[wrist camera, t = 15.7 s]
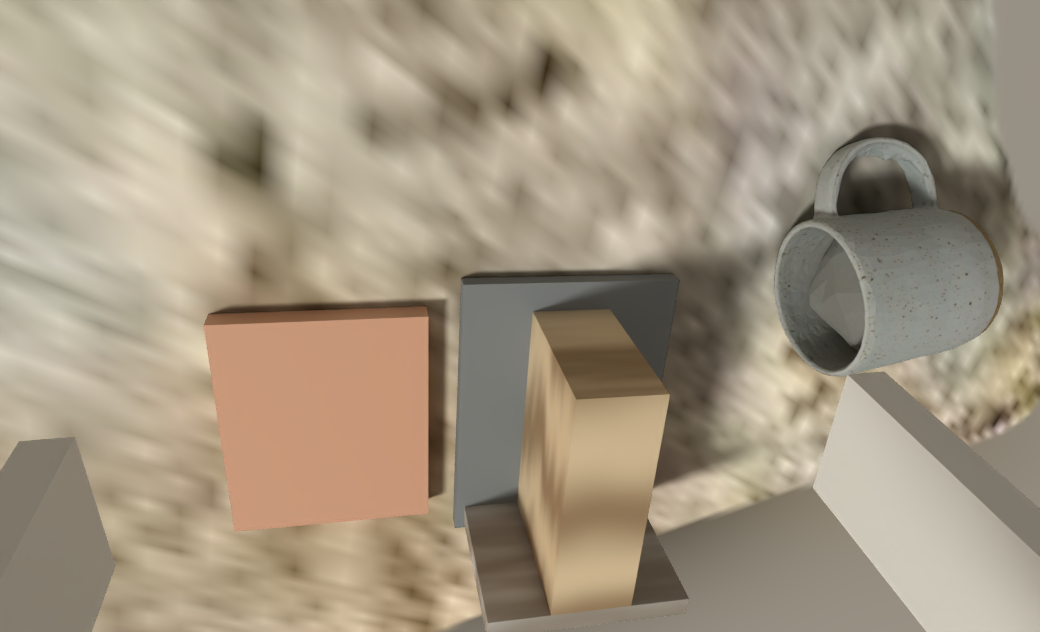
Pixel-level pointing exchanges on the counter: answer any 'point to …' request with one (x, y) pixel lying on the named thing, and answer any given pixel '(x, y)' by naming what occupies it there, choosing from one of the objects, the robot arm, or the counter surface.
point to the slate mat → (505, 357)
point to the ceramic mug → (884, 274)
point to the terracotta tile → (322, 413)
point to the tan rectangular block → (579, 488)
